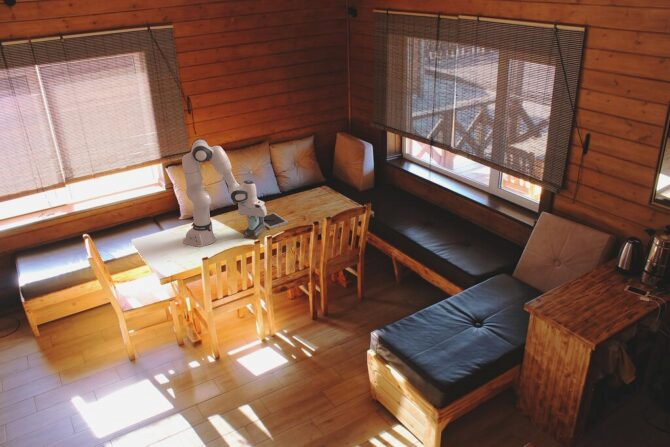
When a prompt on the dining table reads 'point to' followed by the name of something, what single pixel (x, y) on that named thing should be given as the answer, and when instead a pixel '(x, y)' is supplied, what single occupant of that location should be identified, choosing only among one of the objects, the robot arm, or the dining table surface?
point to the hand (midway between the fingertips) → (253, 221)
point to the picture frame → (274, 221)
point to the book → (252, 222)
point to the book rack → (255, 230)
